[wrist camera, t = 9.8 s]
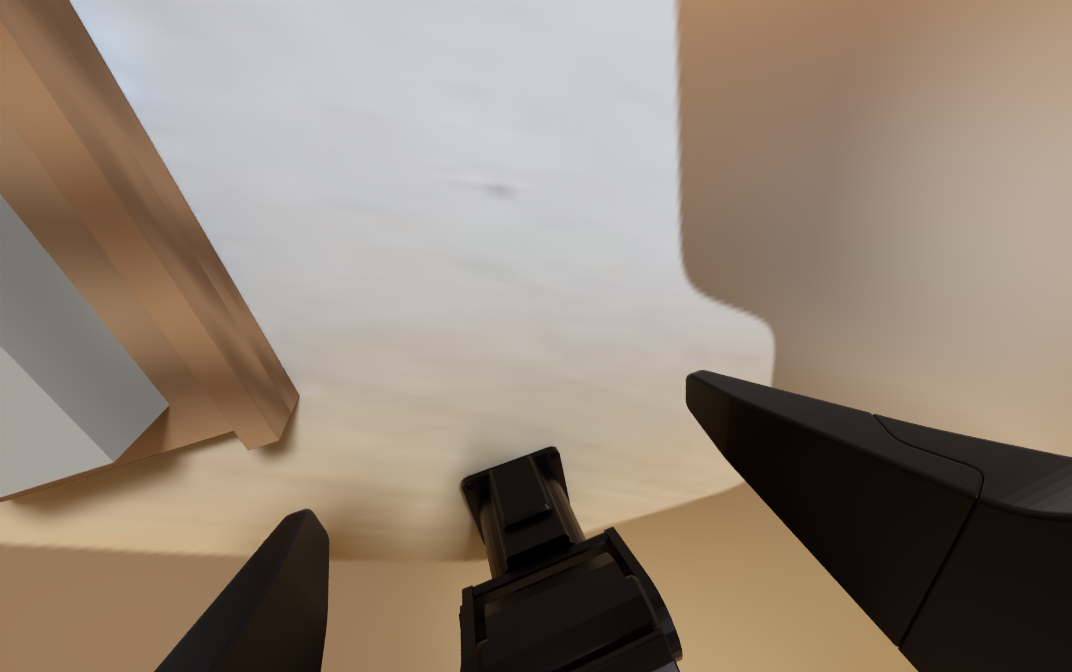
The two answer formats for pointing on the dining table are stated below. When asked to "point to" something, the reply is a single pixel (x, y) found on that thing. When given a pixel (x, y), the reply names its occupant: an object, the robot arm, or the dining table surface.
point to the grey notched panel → (59, 372)
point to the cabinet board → (128, 238)
